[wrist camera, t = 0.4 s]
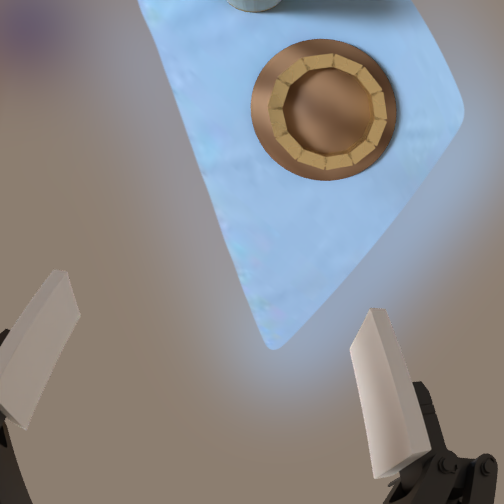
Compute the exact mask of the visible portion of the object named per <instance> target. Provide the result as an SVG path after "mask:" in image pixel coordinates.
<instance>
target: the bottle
mask: <svg viewBox="0 0 504 504" xmlns="http://www.w3.org/2000/svg"><path fill="white" fill-rule="evenodd" d="M226 1H227V2H228V3H229V4H230V5H232V6H233V7H235V8H236V9H239V10H242V11H245V12H261V11H266V10H269V9H271V8H273V7H275V6H276V5H277V4H278V3H279V2H280V1H281V0H226Z"/></svg>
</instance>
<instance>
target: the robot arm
mask: <svg viewBox="0 0 504 504" xmlns="http://www.w3.org/2000/svg"><path fill="white" fill-rule="evenodd" d="M80 316H81V315H80V312H79V309H78V306H77V303H76V300H75V297H74V294H73V290H72V287H71V283H70V280H69V276H68V273H67V271H62V270H56V269H54V270H53V271H52V272H51V274H50V275H49V276H48V278H47V279H46V280H45V282H44V283H43V284H42V286H41V287H40V288H39V290H38V291H37V292H36V294H35V295H34V296H33V298H32V299H31V301H30V302H29V304H28V305H27V306H26V308H25V309H24V311H23V312H22V314H21V315H20V317H19V318H18V320H17V321H16V323H15V324H14V326H13V327H12V329H11V330H8V329H5V330H4V331H3V332H2V333H0V504H33V503H32V501H31V499H30V497H29V494H28V491H27V489H26V486H25V483H24V481H23V478H22V475H21V472H20V470H19V466H18V463H17V460H16V457H15V454H14V450H13V447H12V444H11V440H10V436H9V432H8V428H7V425H6V424H5V421H4V420H5V418H6V417H7V418H8V419H9V420H10V421H11V422H12V423H13V424H15V425H17V426H19V427H21V428H23V429H25V430H27V428H28V425H29V423H30V420H31V418H32V415H33V413H34V411H35V408H36V406H37V404H38V401H39V399H40V397H41V394H42V392H43V390H44V388H45V385H46V383H47V381H48V379H49V377H50V375H51V373H52V370H53V368H54V366H55V364H56V362H57V360H58V358H59V356H60V354H61V352H62V350H63V348H64V346H65V344H66V342H67V340H68V339H69V337H70V335H71V333H72V331H73V329H74V327H75V325H76V324H77V322H78V320H79V318H80ZM350 354H351V358H352V363H353V367H354V372H355V376H356V381H357V386H358V391H359V395H360V401H361V405H362V411H363V416H364V421H365V427H366V432H367V438H368V444H369V450H370V456H371V462H372V469H373V475H374V479H377V478H383V477H389V476H392V475H394V474H396V473H397V472H400V477H399V478H397V479H395V480H394V481H392V482H390V483H389V485H388V487H390V486H392V485H394V484H395V485H394V486H393V488H392V490H391V491H390V493H389V494H388V496H387V498H386V499H385V501H384V502H383V504H494V497H495V490H496V482H497V471H498V468H497V462H496V459H495V458H494V457H493V456H492V455H490V454H482V455H481V456H479V457H478V458H476V459H468V458H458V457H457V456H456V454H455V453H453V452H452V451H449V450H448V449H447V448H446V445H445V443H444V439H443V435H442V432H441V428H440V425H439V421H438V418H437V415H436V414H435V409H434V405H432V399H431V396H430V393H429V391H428V390H427V388H426V387H425V386H424V384H423V383H422V382H421V381H420V382H412V381H411V378H410V374H409V371H408V368H407V365H406V362H405V360H404V357H403V354H402V351H401V349H400V346H399V343H398V340H397V337H396V335H395V332H394V330H393V327H392V324H391V322H390V319H389V317H388V314H387V312H386V309H378V308H370V309H369V312H368V313H367V316H366V318H365V320H364V322H363V324H362V326H361V328H360V330H359V332H358V334H357V336H356V337H355V339H354V341H353V343H352V345H351V347H350Z"/></svg>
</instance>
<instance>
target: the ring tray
mask: <svg viewBox="0 0 504 504" xmlns="http://www.w3.org/2000/svg"><path fill="white" fill-rule="evenodd" d="M251 117H252V122H253V127H254V130H255V133H256V135H257V137H258V139H259V141H260V143H261V145H262V146H263V148H264V149H265V151H266V152H267V153H268V154H269V155H270V157H271V158H272V159H273V160H275V161H276V162H277V163H278V164H279V165H281V166H282V167H283V168H285V169H286V170H288V171H290V172H292V173H294V174H296V175H299V176H301V177H304V178H308V179H313V180H321V181H331V180H339V179H343V178H347V177H350V176H353V175H355V174H357V173H359V172H361V171H363V170H365V169H366V168H368V167H369V166H370V165H372V164H373V163H374V162H375V161H376V160H377V159H378V158H379V157H380V156H381V154H382V153H383V152H384V150H385V149H386V147H387V146H388V144H389V142H390V140H391V138H392V135H393V132H394V128H395V123H396V101H395V97H394V93H393V90H392V87H391V84H390V82H389V80H388V78H387V76H386V75H385V73H384V72H383V70H382V69H381V68H380V66H379V65H378V64H377V63H376V62H375V61H374V60H373V59H372V58H371V57H369V56H368V55H367V54H366V53H364V52H363V51H361V50H360V49H358V48H356V47H354V46H352V45H349V44H347V43H344V42H340V41H336V40H330V39H312V40H307V41H302V42H299V43H296V44H293V45H291V46H289V47H287V48H285V49H283V50H282V51H280V52H279V53H278V54H276V55H275V56H274V57H273V58H272V59H271V60H270V61H269V62H268V63H267V64H266V65H265V67H264V68H263V69H262V71H261V73H260V74H259V76H258V78H257V80H256V83H255V85H254V88H253V93H252V98H251Z"/></svg>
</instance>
